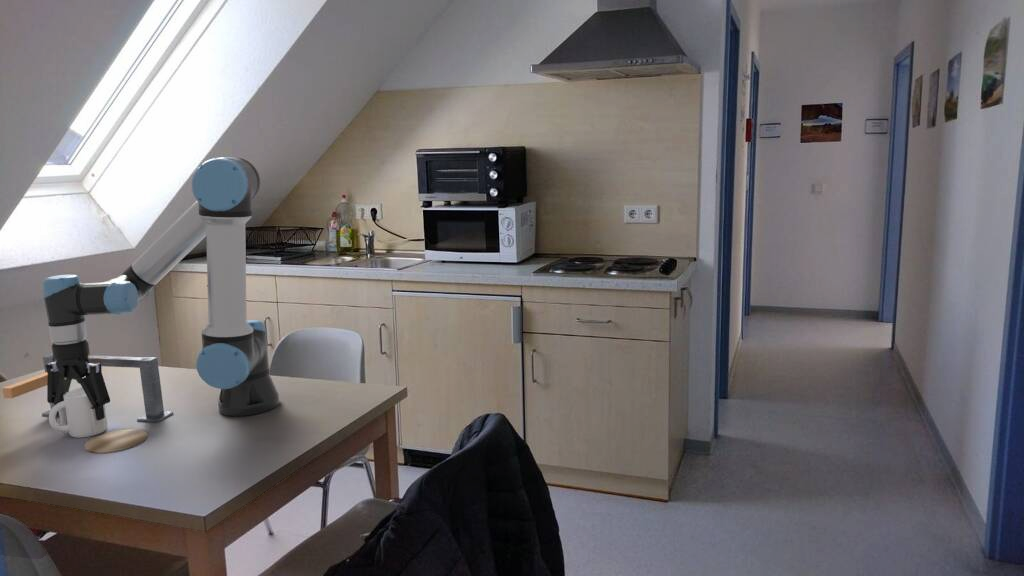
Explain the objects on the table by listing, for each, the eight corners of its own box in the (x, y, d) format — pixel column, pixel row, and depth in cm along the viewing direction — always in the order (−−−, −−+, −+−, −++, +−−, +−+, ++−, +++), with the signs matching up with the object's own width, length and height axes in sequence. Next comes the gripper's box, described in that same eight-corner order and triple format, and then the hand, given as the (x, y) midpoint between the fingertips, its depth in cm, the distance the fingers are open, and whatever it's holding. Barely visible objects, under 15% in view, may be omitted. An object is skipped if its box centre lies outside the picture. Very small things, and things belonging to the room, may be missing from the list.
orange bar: (92, 369, 198) (89, 349, 197) (16, 398, 176) (13, 375, 175) (76, 369, 199) (73, 348, 198) (-1, 397, 177) (-5, 375, 176)
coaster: (159, 433, 182) (158, 430, 182) (119, 454, 170) (119, 452, 170) (113, 430, 185) (112, 427, 185) (71, 451, 173) (71, 448, 173)
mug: (56, 445, 176) (49, 403, 174) (48, 436, 182) (41, 395, 180) (112, 431, 184) (106, 391, 182) (102, 423, 190) (96, 384, 188)
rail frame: (173, 414, 195) (166, 356, 192) (157, 422, 190) (150, 362, 187) (60, 407, 204) (52, 352, 201) (42, 415, 198) (33, 358, 195)
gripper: (119, 337, 180) (131, 427, 184) (45, 335, 185) (59, 423, 189) (95, 345, 173) (109, 439, 177) (19, 343, 178) (34, 434, 182)
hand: (83, 431), depth 183 cm, fingers closed on mug, 8 cm apart
